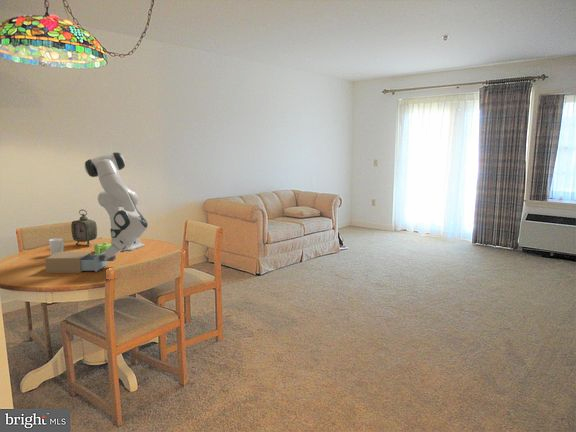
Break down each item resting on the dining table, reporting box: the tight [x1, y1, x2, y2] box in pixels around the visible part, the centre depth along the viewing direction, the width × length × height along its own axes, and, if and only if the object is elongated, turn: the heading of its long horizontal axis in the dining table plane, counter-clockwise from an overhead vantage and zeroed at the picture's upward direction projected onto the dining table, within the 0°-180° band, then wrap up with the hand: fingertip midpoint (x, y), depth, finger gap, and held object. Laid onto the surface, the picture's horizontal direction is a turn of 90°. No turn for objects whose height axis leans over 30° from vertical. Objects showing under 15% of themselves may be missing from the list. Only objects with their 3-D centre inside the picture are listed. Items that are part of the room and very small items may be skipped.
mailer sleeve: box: [44, 251, 92, 274], centre depth 223 cm, size 18×14×8 cm
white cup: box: [48, 237, 65, 256], centre depth 252 cm, size 8×8×10 cm
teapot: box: [93, 242, 113, 255], centre depth 245 cm, size 12×12×10 cm
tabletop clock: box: [70, 209, 98, 247], centre depth 278 cm, size 14×9×25 cm, turn 68°
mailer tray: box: [80, 252, 116, 273], centre depth 223 cm, size 25×14×8 cm, turn 92°
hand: (107, 258), depth 223 cm, fingers closed on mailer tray, 4 cm apart
